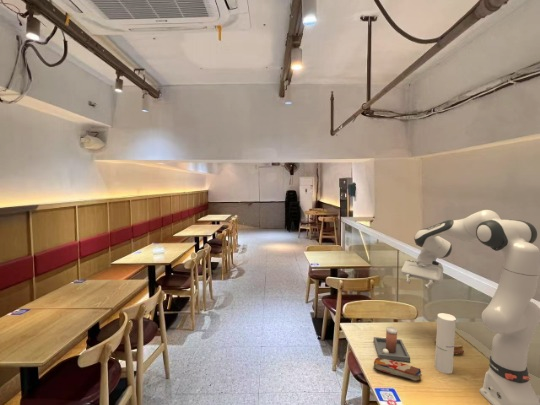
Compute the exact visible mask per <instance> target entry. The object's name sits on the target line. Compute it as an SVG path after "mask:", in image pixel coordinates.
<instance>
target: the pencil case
mask: <svg viewBox="0 0 540 405" xmlns="http://www.w3.org/2000/svg"><path fill="white" fill-rule="evenodd" d="M373 367H374V368H375V369H376V370H377V371H381V372H384V373H385V374H391V375H395V376H398V377H401V378H405V379H408V380H411V381H421V379H422V378H421V377H422V376H423V374H422V370H421V368H420V367H419V368H418V367H415V366H413V365H410V364H407V363H404V362H398V361H391V360H387V359H382V358H379V357H376V358H375V359H374V361H373Z"/></svg>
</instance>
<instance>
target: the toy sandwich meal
mask: <svg viewBox="0 0 540 405" xmlns="http://www.w3.org/2000/svg"><path fill="white" fill-rule="evenodd" d="M434 345H435V346H436V340H435V341H434ZM463 348H464V347H463V345H462V344H460V343H459V342H458V341H456V340H455V341H454V355H459V354H464V353H465V350H464V349H463Z"/></svg>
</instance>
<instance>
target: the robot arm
mask: <svg viewBox="0 0 540 405" xmlns="http://www.w3.org/2000/svg"><path fill="white" fill-rule="evenodd" d="M442 235H443V236H448V237H452V238H455V239H456V240H460V241H463V242H466V243H473V242H477V241H479V242H480V243H481V244H482V245H484V246H487V247H489V248H491V250H494V251H495V252H498V251H501V252H502V253H503V262H502V266H501V271H500V278H499V281H498V286H497V287H496V290H495V292H494V294H493V296H492V298H491V300H490V302H489V304H488V305H487V306H486V307H485V308H484V309H483V311H482V312H481V320H482V323H483V325H484V326H485V328H486V329H488V330H489V331H490V332H491V333H494V334H495V335H494V336H493V338H492V342H491V343H492V344H491V352H490V353H491V355H490V356H489V359H488V360H489V361H488V362H489V363H488V366H489V368H488V369H487V371H486V372H485V374H484V379H483V384H482V387H480V388H479V393H480V394H481V395H482V396H483V397H484V398H485V399H486V400H487V402H489V403H490V404H491V405H540V394H536V392H535V390H534V386H533V384H531V382H530V380H531V376H530V374H529V370H528V366H527V364H528V353H529V348H530V345H531V343H532V341H533V337H534V335H535V332H536V330H537V327H538V326H539V325H540V307H539V306H538V305H537V304H536V303H535V302H532V298H534V297H535V295H536V293H537V289H538V288H537V287H538V282H539V278H540V277H539V276H540V249H539V247H538V246H536V245H535V244H533V243H535V242H536V240H537V238H538V231H537V229H536V227H535V225H533V224H532V223H530V222H527V221H525V220H520V219H519V220H518V219H501V217H500V215H499V214H498V213H497V212H495V210H494V211H493V210H491V209H482V210H479V211H477V212H475V213H472V214H470V215H468V216H467V217H465V218H461V219H455V220H454V219H453V220H452V219H448V220H445V221H441V222H439V223H437V224H435V225H432V226H430V227H426V228H425V227H424V228H422V229H419V230H418V231H417V232H416V233H415V234H414V236H413V239H414V243H415V244H416V246H417V247H419V248H421V249H420V253H418V256H417V258H416V260H410V259H407V260H405V261H404V263H403V265H402V267H401V269H400V272H401V274H402V275H403V276H405V277H406V282H405V283H407V284H411V282H412V281H411V279H410V278H414V279H418V280H422V281H427V283H425V284H424V288H425V289H430V287H431V286H432V285H433V284H434V283H435V284H439V285H440V284H441V283H443V279H444V273H443V272H444V267H443V265H442V263H441V262H439V261H437V259H444V258H447V257H449V256H450V255H451V253H452V250H453V246H452V243H451V242H450V241H448V240H447V239H445V238H443V237H441V236H442Z"/></svg>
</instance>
